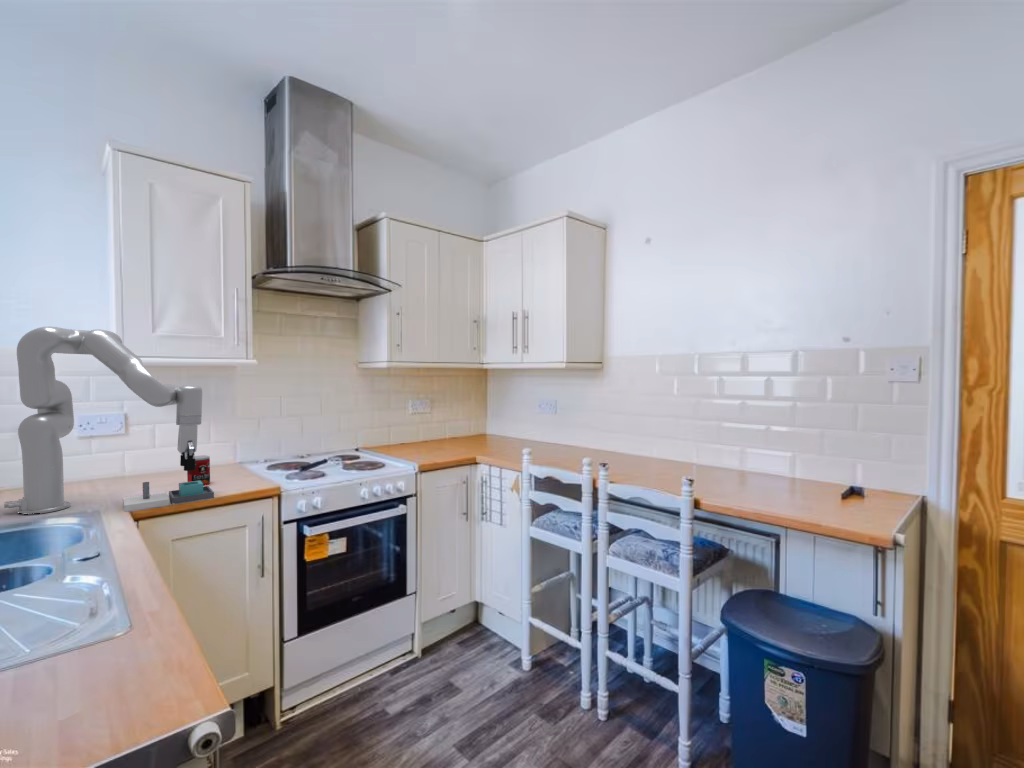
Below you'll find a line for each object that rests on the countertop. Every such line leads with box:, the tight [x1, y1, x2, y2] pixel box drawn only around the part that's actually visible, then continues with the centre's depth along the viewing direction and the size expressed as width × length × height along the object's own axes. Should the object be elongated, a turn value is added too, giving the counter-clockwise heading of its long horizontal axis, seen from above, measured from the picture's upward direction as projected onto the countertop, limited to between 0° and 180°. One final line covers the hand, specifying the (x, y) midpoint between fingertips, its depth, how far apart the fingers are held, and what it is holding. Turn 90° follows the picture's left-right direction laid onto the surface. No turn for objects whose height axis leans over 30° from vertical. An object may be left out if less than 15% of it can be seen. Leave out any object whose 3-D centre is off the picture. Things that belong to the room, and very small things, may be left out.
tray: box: [168, 485, 215, 505], centre depth 175 cm, size 12×12×2 cm
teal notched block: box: [178, 480, 204, 497], centre depth 175 cm, size 7×7×4 cm
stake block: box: [122, 481, 171, 512], centre depth 166 cm, size 12×12×8 cm
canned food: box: [186, 454, 211, 487], centre depth 194 cm, size 8×8×11 cm
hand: (187, 468), depth 174 cm, fingers open, 9 cm apart
